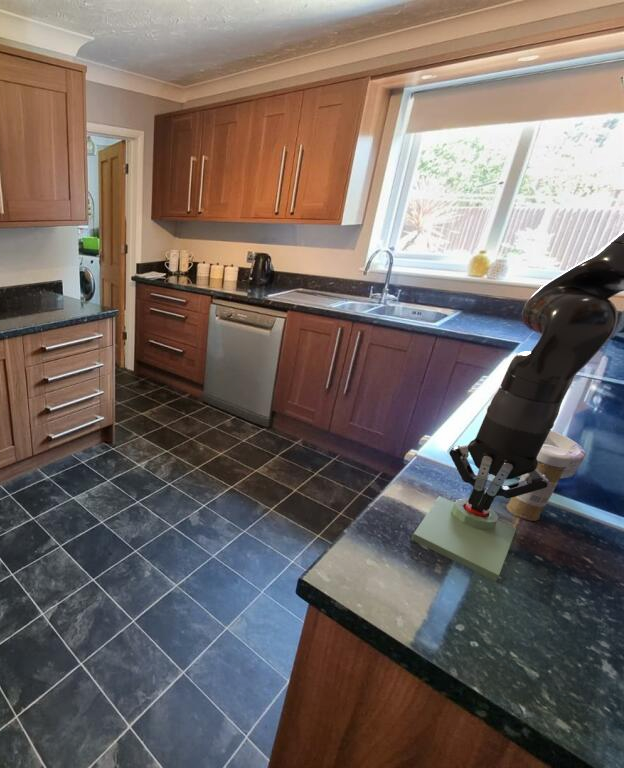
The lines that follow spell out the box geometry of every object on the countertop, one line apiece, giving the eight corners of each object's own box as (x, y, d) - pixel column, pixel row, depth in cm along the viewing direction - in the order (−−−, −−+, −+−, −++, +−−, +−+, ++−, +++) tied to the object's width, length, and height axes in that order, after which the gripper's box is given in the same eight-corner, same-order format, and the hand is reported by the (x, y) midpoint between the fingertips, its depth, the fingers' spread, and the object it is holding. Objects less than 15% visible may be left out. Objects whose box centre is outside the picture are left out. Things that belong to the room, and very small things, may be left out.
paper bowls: (579, 501, 80) (600, 466, 77) (478, 475, 87) (493, 442, 84) (556, 462, 92) (572, 431, 89) (468, 442, 99) (481, 412, 96)
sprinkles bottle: (536, 511, 77) (569, 448, 72) (540, 525, 74) (576, 461, 68) (503, 501, 79) (533, 440, 74) (506, 515, 76) (538, 451, 71)
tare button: (464, 507, 75) (468, 499, 74) (486, 516, 73) (490, 508, 72) (460, 515, 73) (464, 507, 73) (482, 524, 71) (486, 516, 70)
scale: (437, 500, 79) (442, 487, 78) (514, 533, 72) (521, 519, 71) (410, 540, 70) (416, 526, 69) (495, 582, 62) (503, 567, 61)
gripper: (580, 428, 63) (531, 518, 70) (471, 398, 72) (437, 481, 79) (576, 445, 59) (524, 540, 66) (459, 411, 68) (425, 497, 75)
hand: (476, 507), depth 72 cm, fingers closed
